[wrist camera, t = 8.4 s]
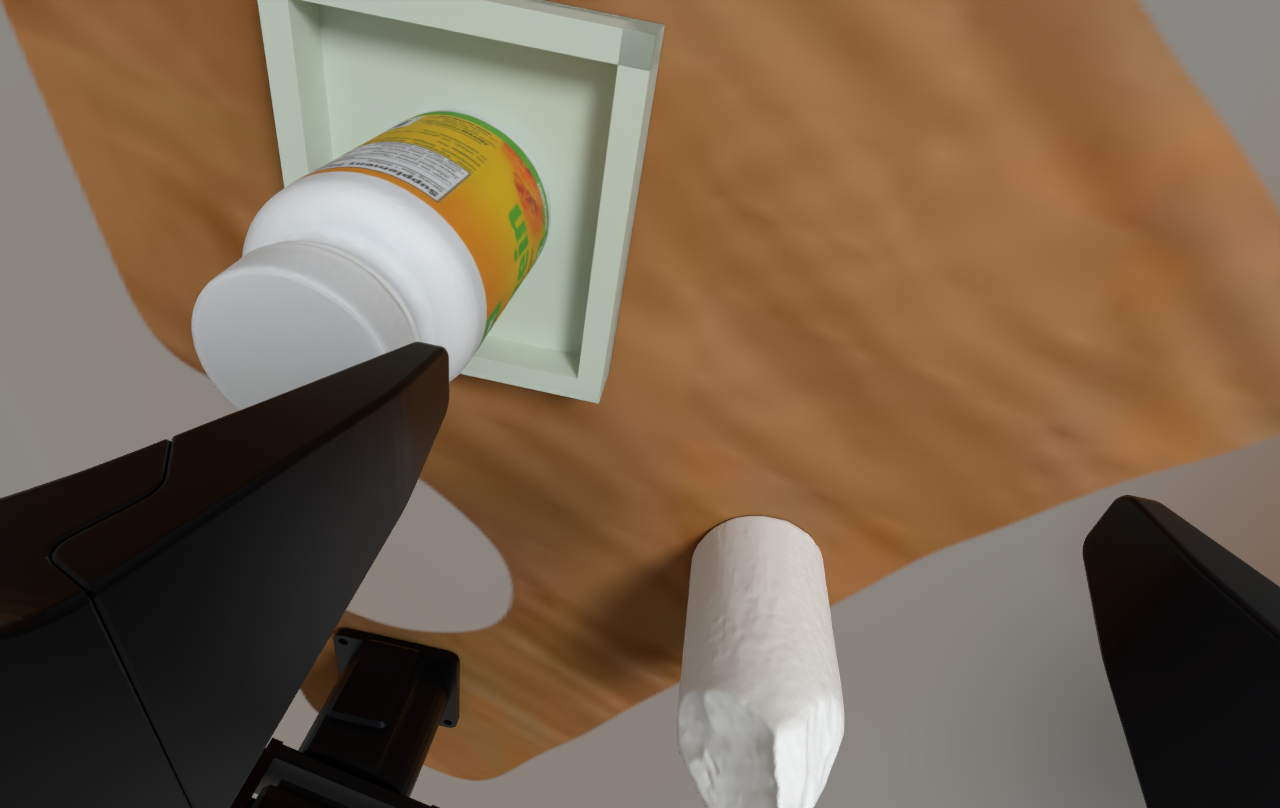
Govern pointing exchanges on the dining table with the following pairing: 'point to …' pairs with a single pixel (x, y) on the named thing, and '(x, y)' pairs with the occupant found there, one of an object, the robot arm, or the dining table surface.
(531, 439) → the dining table surface
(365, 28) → the tray
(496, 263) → the supplement bottle
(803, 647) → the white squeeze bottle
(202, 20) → the dining table surface
